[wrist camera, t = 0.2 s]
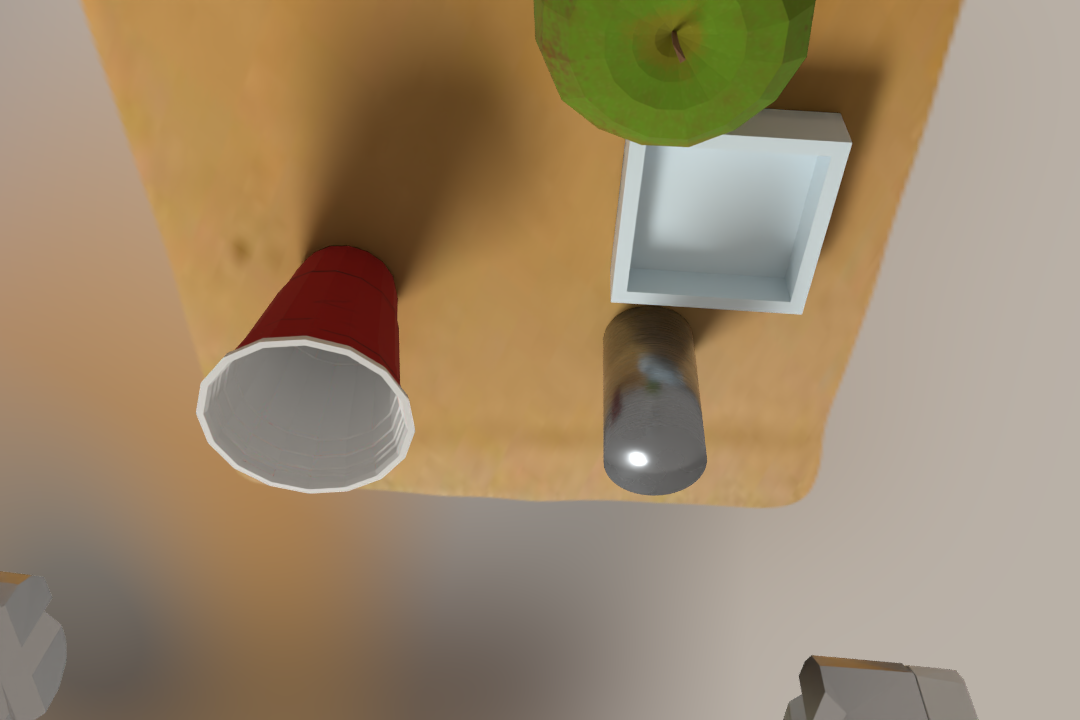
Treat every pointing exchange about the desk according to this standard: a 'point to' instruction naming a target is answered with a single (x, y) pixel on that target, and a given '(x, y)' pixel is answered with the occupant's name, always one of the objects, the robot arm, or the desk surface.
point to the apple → (672, 62)
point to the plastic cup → (315, 381)
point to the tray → (729, 215)
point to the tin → (651, 403)
